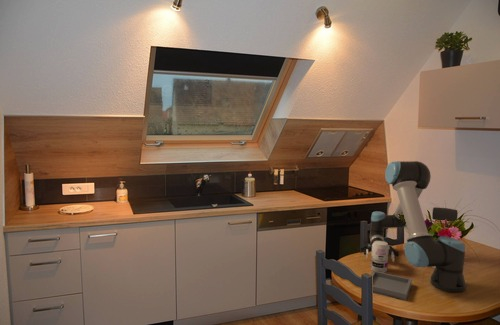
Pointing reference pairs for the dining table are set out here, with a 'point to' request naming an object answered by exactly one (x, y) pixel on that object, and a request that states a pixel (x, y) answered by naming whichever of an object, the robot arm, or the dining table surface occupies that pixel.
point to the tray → (391, 285)
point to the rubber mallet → (444, 214)
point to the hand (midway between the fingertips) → (380, 257)
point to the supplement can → (379, 256)
